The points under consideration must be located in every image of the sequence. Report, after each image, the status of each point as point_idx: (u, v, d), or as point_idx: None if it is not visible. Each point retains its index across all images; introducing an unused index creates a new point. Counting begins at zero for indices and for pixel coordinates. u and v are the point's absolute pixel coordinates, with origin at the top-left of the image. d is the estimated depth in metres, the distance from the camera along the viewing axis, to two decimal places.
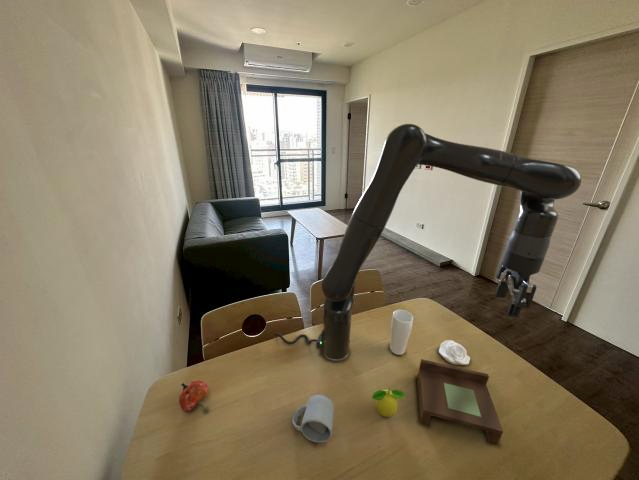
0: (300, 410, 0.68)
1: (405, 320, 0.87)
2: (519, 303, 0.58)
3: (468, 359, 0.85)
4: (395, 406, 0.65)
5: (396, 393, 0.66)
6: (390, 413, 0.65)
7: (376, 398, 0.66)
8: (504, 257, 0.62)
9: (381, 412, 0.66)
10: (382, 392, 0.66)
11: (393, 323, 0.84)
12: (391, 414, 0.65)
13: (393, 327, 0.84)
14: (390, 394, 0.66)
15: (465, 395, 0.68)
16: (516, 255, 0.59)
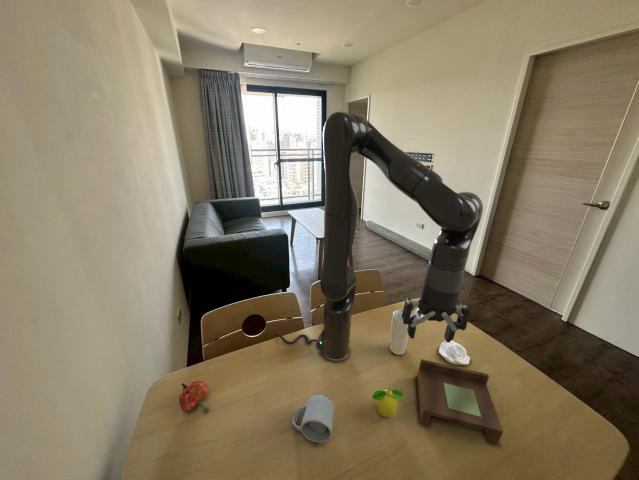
0: (300, 410, 0.68)
1: None
2: (402, 314, 0.62)
3: (468, 359, 0.85)
4: (395, 406, 0.65)
5: (396, 393, 0.66)
6: (390, 413, 0.65)
7: (376, 398, 0.66)
8: None
9: (381, 412, 0.66)
10: (382, 392, 0.66)
11: (393, 323, 0.84)
12: (391, 414, 0.65)
13: (393, 327, 0.84)
14: (390, 394, 0.66)
15: (465, 395, 0.68)
16: None
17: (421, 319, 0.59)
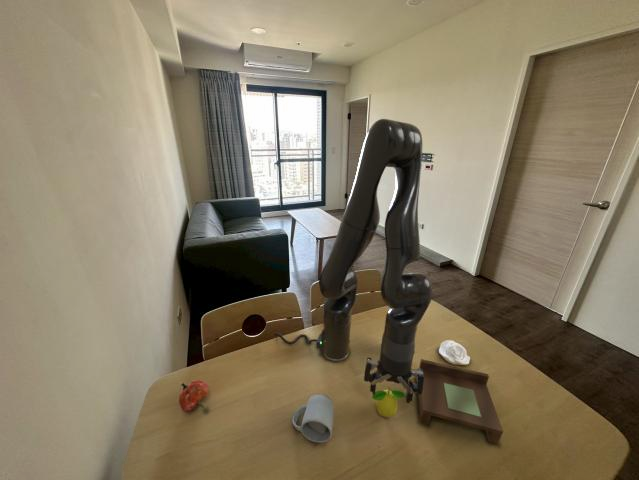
0: (300, 410, 0.68)
1: None
2: None
3: (468, 359, 0.85)
4: (395, 406, 0.65)
5: (396, 393, 0.65)
6: (390, 413, 0.65)
7: (376, 398, 0.66)
8: None
9: (381, 412, 0.66)
10: (382, 392, 0.66)
11: None
12: (391, 414, 0.65)
13: None
14: (390, 394, 0.66)
15: (465, 395, 0.68)
16: None
17: (379, 379, 0.63)
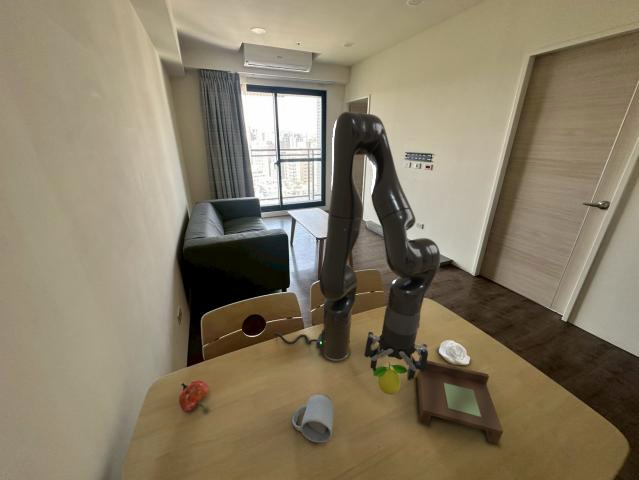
0: (300, 410, 0.68)
1: None
2: None
3: (468, 359, 0.85)
4: (397, 382, 0.62)
5: (397, 368, 0.62)
6: (392, 389, 0.62)
7: (377, 375, 0.63)
8: None
9: (383, 389, 0.63)
10: (383, 368, 0.63)
11: None
12: (394, 390, 0.62)
13: None
14: (391, 369, 0.63)
15: (465, 395, 0.68)
16: None
17: (380, 354, 0.60)
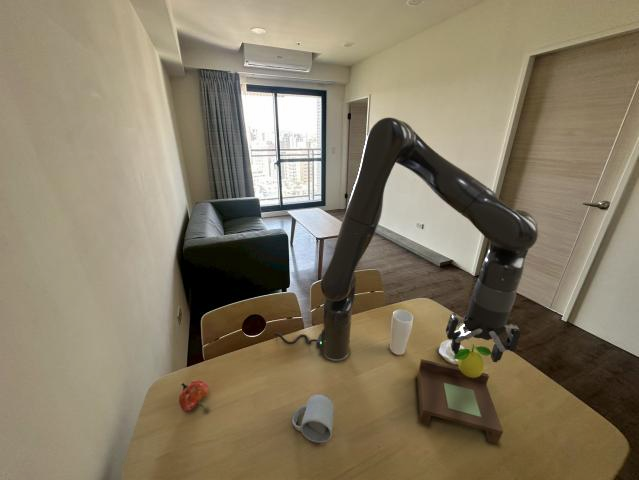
0: (300, 410, 0.68)
1: (405, 320, 0.87)
2: (446, 329, 0.62)
3: None
4: (482, 364, 0.60)
5: (481, 350, 0.61)
6: (478, 372, 0.60)
7: (459, 358, 0.62)
8: None
9: (467, 372, 0.61)
10: (465, 350, 0.61)
11: (393, 323, 0.84)
12: (479, 373, 0.60)
13: (393, 327, 0.84)
14: (474, 352, 0.61)
15: (465, 395, 0.68)
16: None
17: (466, 335, 0.58)
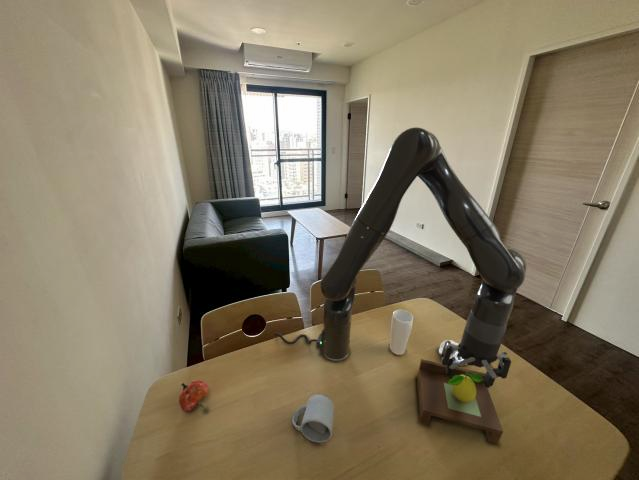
0: (300, 410, 0.68)
1: (405, 320, 0.87)
2: (441, 355, 0.65)
3: None
4: (475, 390, 0.64)
5: (474, 377, 0.64)
6: (470, 397, 0.63)
7: (453, 383, 0.65)
8: None
9: (460, 397, 0.64)
10: (459, 377, 0.65)
11: (393, 323, 0.84)
12: (471, 399, 0.64)
13: (393, 327, 0.84)
14: (468, 378, 0.65)
15: None
16: None
17: (460, 363, 0.62)
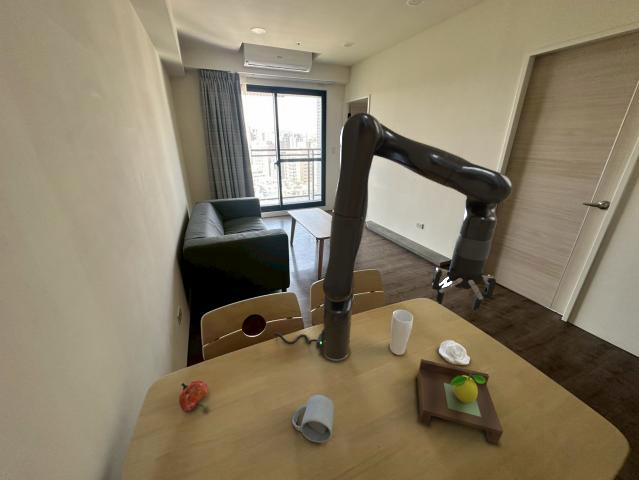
0: (300, 410, 0.68)
1: (405, 320, 0.87)
2: (432, 281, 0.70)
3: (468, 359, 0.85)
4: (477, 391, 0.64)
5: (477, 378, 0.64)
6: (472, 398, 0.63)
7: (456, 384, 0.65)
8: None
9: (462, 398, 0.64)
10: (462, 377, 0.65)
11: (393, 323, 0.84)
12: (473, 400, 0.64)
13: (393, 327, 0.84)
14: (470, 379, 0.65)
15: None
16: None
17: (449, 285, 0.66)
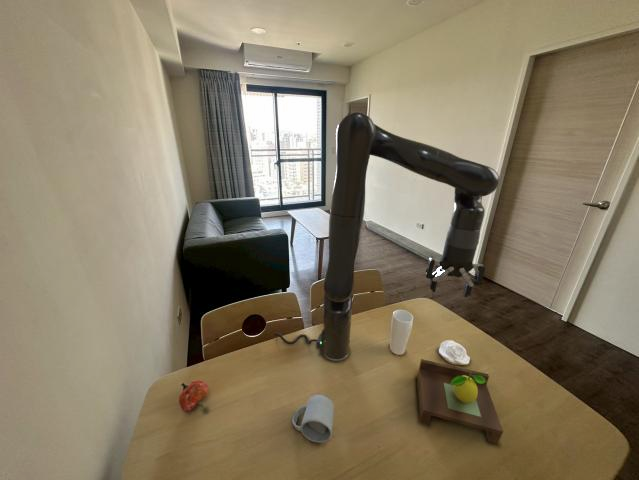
0: (300, 410, 0.68)
1: (405, 320, 0.87)
2: None
3: (468, 359, 0.85)
4: (477, 391, 0.64)
5: (477, 378, 0.64)
6: (472, 398, 0.63)
7: (456, 384, 0.65)
8: None
9: (462, 398, 0.64)
10: (462, 377, 0.65)
11: (393, 323, 0.84)
12: (473, 400, 0.64)
13: (393, 327, 0.84)
14: (470, 379, 0.65)
15: None
16: None
17: (441, 274, 0.70)
